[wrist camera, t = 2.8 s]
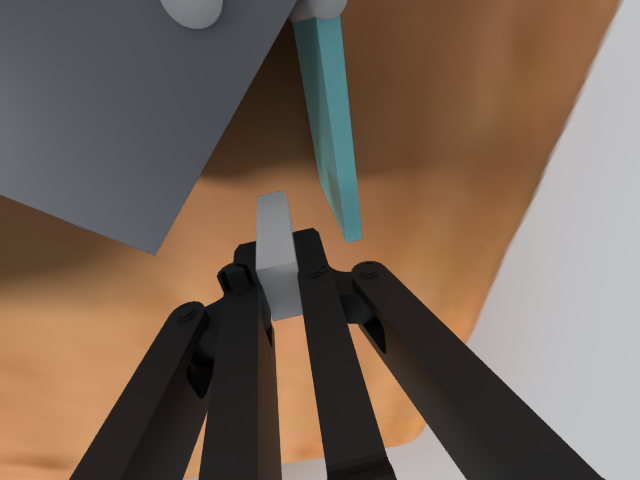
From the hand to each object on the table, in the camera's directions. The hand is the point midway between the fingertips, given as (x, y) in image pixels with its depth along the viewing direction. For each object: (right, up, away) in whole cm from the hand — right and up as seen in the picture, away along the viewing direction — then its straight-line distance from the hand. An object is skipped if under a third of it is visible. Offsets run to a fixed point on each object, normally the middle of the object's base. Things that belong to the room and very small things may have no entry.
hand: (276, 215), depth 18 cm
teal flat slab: (+2, +9, +6) cm, 11 cm away
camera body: (-8, +11, +3) cm, 14 cm away
